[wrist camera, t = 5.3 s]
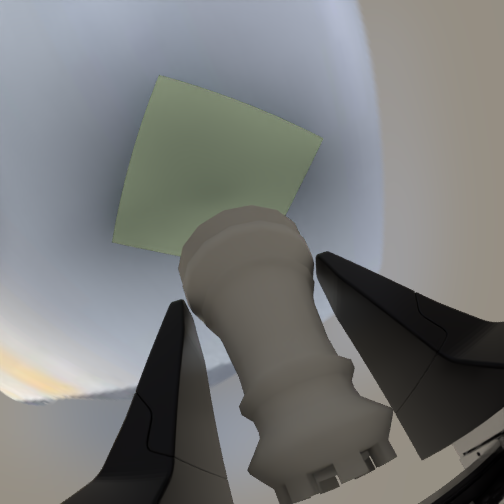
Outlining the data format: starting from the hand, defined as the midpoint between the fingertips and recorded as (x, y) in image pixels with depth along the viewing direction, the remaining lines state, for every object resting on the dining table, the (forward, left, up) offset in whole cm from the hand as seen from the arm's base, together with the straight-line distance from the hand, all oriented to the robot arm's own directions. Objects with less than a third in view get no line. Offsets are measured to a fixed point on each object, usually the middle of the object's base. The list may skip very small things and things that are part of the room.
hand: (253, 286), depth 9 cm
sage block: (0, 0, -11) cm, 11 cm away
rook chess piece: (0, 0, -2) cm, 2 cm away
